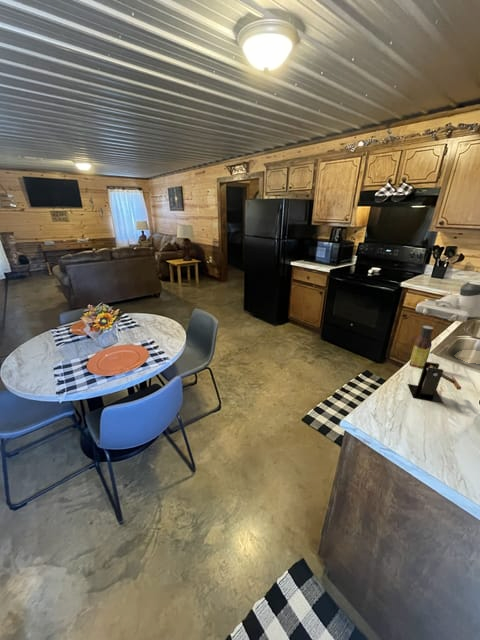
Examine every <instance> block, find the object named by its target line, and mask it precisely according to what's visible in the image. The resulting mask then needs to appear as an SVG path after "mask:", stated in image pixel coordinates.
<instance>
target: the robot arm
mask: <svg viewBox="0 0 480 640" xmlns="http://www.w3.org/2000/svg"><path fill="white" fill-rule="evenodd" d="M415 312H417V313H421V314H423V316H428V315H429V316H434V317H437V318H439V319H447V321H449V322H453V321H455V322H460V323H466V322H467V321H473V320H476V319H478V318H480V282H479V281H468V282H466V283H464V284H463V285H462V286H460V292H459V297H458V296H457V295H452V294H450V295H445V296H443V297H441V298H440V299H433V298H426V299H424V300H423V301H420V302H419V303H417V305H416V307H415Z"/></svg>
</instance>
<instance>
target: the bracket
mask: <svg viewBox="0 0 480 640" xmlns="http://www.w3.org/2000/svg"><path fill="white" fill-rule="evenodd" d="M430 365H433V366H434V367H436V368H430V367H429V366H430ZM428 367H429V368H428ZM439 367H440V363H439V362H438V363H437V362H430V361H427V362H425V364H424V367H423V368H422V370H421V373H420V375H419V380H418V382H417V385H416V384H411V383H407V387H408V389H409V392H410V394H411V398H412V399H417V400H420V401H426V402H432V403H438V404H443V405H444V401H443V399H442V397H441V396H440V395H439V393H438V390H437V389H438V387H439V384H440V381H441V379H442V377H441V376H442V374H444V370H443V368H439ZM426 368H428V371H427V369H426ZM437 368H438V369H437Z"/></svg>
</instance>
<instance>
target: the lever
mask: <svg viewBox="0 0 480 640" xmlns="http://www.w3.org/2000/svg"><path fill="white" fill-rule="evenodd" d="M429 367H430V368H436V367H434V366H433V365H430V366H429ZM429 367H428V368H429ZM428 368H426V369H427V371H428ZM437 369H439V368H437ZM441 378H443V379H444V380H446V381H448V382H450V383H451V384H453V386H454V387H455V389H456V390H457V391H460V390H462V387H461V385H460V384H459V383H458V381H457V379H456V378H455V377H454V375H449V376H447V375H446V374H444V373H442V376H441Z"/></svg>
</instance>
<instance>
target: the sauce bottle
mask: <svg viewBox="0 0 480 640" xmlns="http://www.w3.org/2000/svg"><path fill="white" fill-rule="evenodd" d="M433 331H434V327H432V326H430V325H422V327H421V332H420V335H419V336H418V337H416V339H415V343H414V344H413V348H412V352H411V356H410V359H409V366H410V367H412V368H418V369H423V367H424V364H425V362H428V359H429V357H430V356H429V355H430V353H431V350H432V345H433V344H432V334H433ZM410 360H411V361H410Z"/></svg>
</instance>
